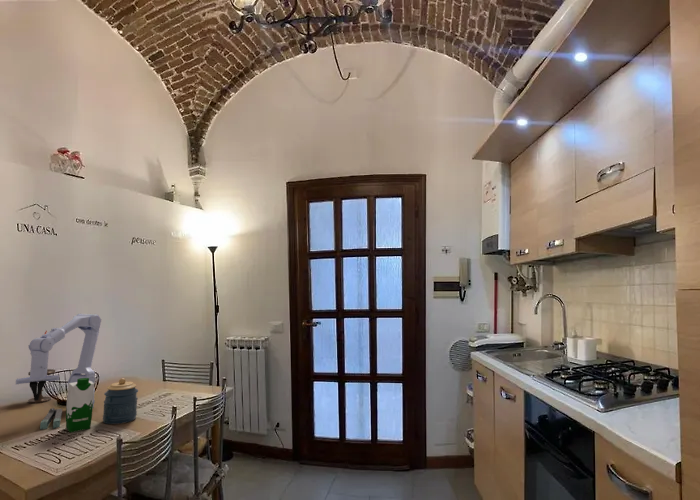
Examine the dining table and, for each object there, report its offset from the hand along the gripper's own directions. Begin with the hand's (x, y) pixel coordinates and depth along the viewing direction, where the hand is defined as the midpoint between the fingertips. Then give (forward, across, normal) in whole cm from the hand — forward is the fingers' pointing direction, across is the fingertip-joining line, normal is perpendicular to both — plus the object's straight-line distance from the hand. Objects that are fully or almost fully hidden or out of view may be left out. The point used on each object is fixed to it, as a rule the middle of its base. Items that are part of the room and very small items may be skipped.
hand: (36, 399), depth 171 cm
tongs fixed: (+10, +7, 0) cm, 12 cm away
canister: (+10, +30, -11) cm, 34 cm away
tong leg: (+10, +4, -2) cm, 11 cm away
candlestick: (+10, -1, +41) cm, 42 cm away
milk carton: (+10, +15, -15) cm, 24 cm away
